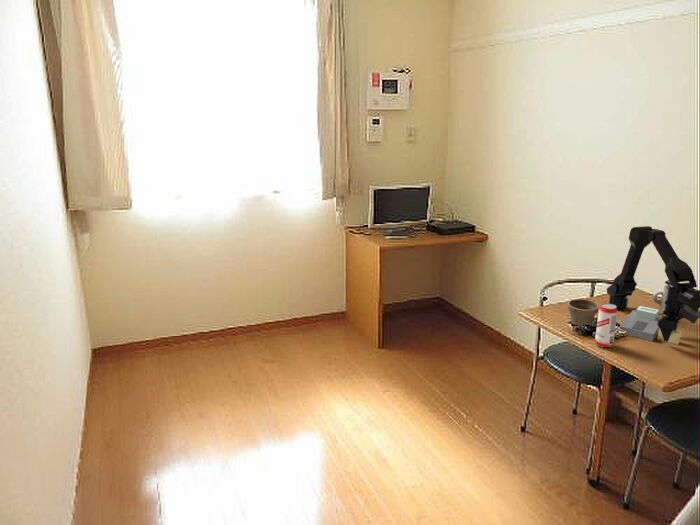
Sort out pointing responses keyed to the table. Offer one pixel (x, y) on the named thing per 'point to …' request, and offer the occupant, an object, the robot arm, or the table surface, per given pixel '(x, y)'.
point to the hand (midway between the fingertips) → (668, 336)
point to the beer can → (606, 325)
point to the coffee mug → (664, 296)
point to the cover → (647, 313)
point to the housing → (640, 327)
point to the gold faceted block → (673, 337)
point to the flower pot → (582, 311)
